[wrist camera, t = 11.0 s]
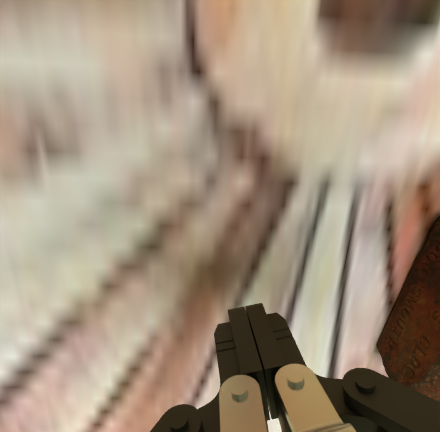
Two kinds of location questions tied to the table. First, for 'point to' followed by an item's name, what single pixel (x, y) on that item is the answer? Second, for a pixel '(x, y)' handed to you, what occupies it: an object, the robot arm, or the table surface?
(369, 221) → the table surface
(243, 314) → the robot arm
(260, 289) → the table surface
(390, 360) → the brick
